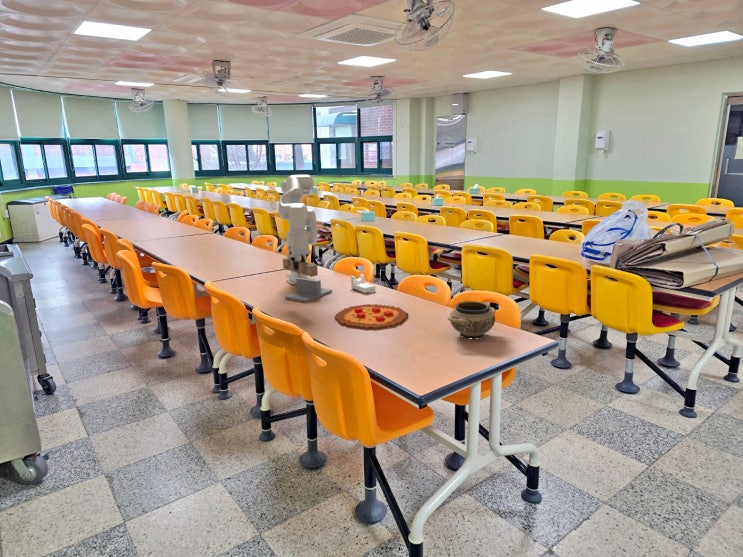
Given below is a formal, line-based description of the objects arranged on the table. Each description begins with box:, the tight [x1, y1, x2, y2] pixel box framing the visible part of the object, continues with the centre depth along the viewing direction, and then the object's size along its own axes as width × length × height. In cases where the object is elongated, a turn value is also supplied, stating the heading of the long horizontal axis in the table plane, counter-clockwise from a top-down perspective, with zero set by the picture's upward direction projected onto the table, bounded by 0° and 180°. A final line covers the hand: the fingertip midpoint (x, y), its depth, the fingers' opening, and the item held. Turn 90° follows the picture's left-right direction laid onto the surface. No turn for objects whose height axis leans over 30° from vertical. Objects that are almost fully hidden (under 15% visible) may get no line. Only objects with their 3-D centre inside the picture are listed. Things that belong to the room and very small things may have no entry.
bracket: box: [350, 273, 376, 294], centre depth 265 cm, size 13×7×8 cm, turn 35°
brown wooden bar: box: [282, 257, 319, 278], centre depth 237 cm, size 24×4×5 cm, turn 43°
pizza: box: [334, 303, 409, 331], centre depth 221 cm, size 32×32×3 cm
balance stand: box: [284, 276, 333, 303], centre depth 257 cm, size 14×22×10 cm, turn 148°
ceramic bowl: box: [447, 300, 496, 340], centre depth 195 cm, size 24×18×15 cm
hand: (299, 268), depth 237 cm, fingers closed on brown wooden bar, 3 cm apart
